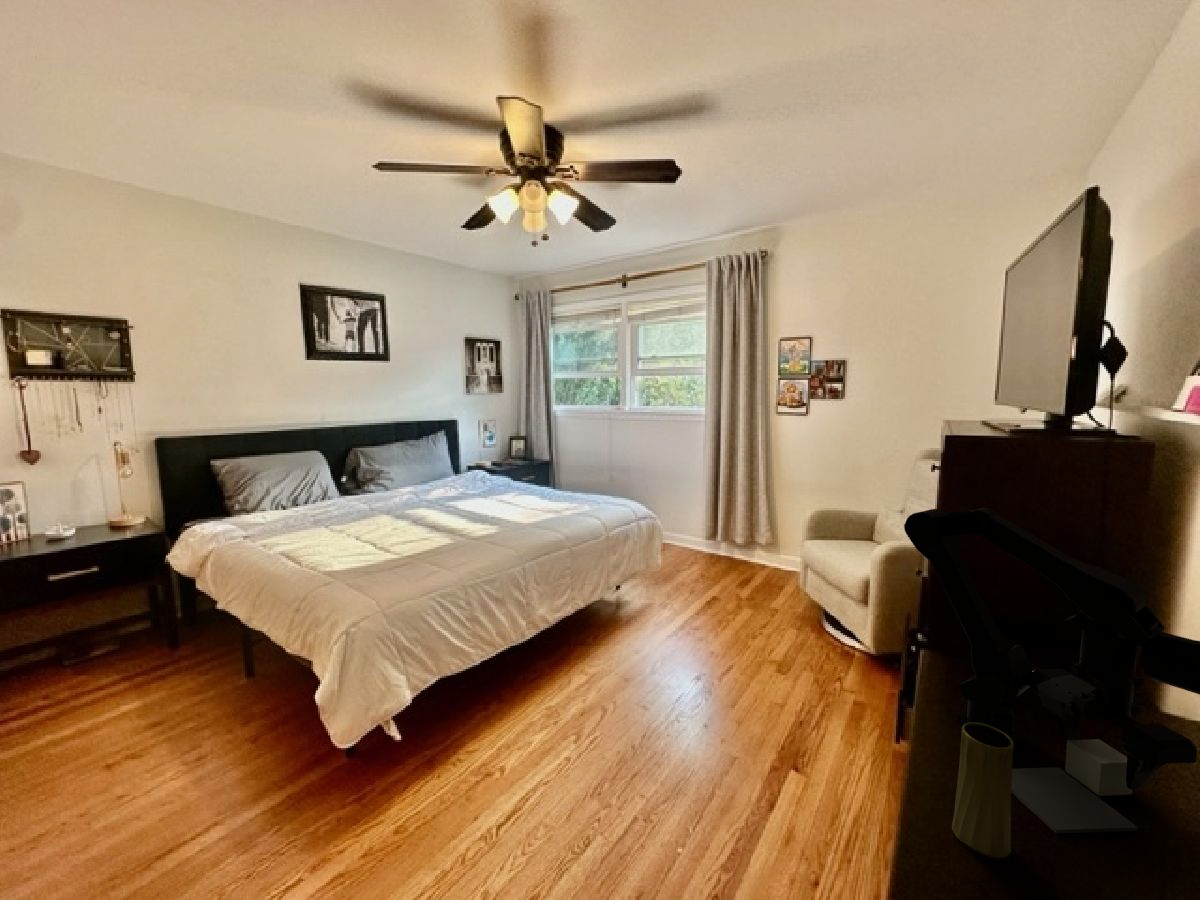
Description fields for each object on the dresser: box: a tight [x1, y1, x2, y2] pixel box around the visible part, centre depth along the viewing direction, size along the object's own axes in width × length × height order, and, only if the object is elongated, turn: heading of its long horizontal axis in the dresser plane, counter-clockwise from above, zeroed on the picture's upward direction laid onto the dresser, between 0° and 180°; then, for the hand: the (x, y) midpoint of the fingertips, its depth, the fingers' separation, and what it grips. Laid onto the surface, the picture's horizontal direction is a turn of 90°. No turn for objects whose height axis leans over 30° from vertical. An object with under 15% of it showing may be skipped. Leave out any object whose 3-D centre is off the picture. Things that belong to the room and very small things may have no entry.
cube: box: [1064, 738, 1133, 797], centre depth 74 cm, size 5×5×5 cm
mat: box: [1011, 766, 1139, 834], centre depth 71 cm, size 11×11×1 cm
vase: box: [951, 722, 1015, 858], centre depth 64 cm, size 6×6×14 cm
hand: (1097, 765), depth 74 cm, fingers open, 9 cm apart
